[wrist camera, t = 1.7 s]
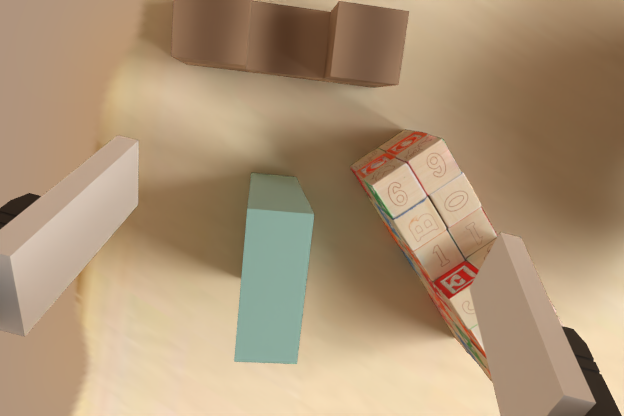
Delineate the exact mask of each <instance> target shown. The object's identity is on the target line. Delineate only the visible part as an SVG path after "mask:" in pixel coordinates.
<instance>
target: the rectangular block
mask: <svg viewBox="0 0 624 416" xmlns="http://www.w3.org/2000/svg"><path fill="white" fill-rule="evenodd" d="M313 222H314V212H313V210H312V208H311V206H310V204H309V202H308V200H307V198H306V196H305V194H304V192H303V190H302V188H301V186H300V184H299V182H298V180H297V178H296V177H291V176H281V175H270V174H260V173H251V180H250V189H249V197H248V206H247V217H246V229H245V241H244V253H243V265H242V276H241V288H240V300H239V312H238V323H237V335H236V347H235V359H234V362H258V363H283V364H297V358H298V350H299V341H300V333H301V324H302V316H303V307H304V299H305V290H306V281H307V273H308V264H309V256H310V247H311V239H312V230H313Z"/></svg>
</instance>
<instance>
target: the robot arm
mask: <svg viewBox="0 0 624 416" xmlns="http://www.w3.org/2000/svg"><path fill="white" fill-rule="evenodd" d="M138 170H139V140H135V139H131V138H127V137H123V136H119V135H117V136H116V137H114V138H113V139H112V140H111V141H109V142H108V143H107V144H106V145H104V146H103V147H102V148H101V149H100V150H98V151H97V152H96V153H95V154H93V155H92V156H91V157H90V158H88V159H87V160H86V161H85V162H83V163H82V164H81V165H80V166H79V167H77V168H76V169H75V170H73V171H72V172H71V173H70V174H69V175H67V176H66V177H65V178H64V179H62V180H61V181H60V182H59V183H57V184H56V185H55V186H54V187H52V188H51V189H50V190H49V191H47V192H46V193H45V194H44V195H42V196H38V195H34V194H30V193H29V194H26V195H24V196H21V197H18V198H16V199H13V200H11V201H9V202H8V203H7V204H5V205H4V206H3V207H1V208H0V331H5V332H9V333H13V334H17V335H21V336H26V335H27V334H28V333H29V331H30V330H31V329H32V328H33V327H34V326H35V324H36V323H37V322H38V321H39V320H40V319H41V318H42V316H43V315H44V314H45V313H46V312H47V311H48V309H49V308H50V307H51V306H52V305H53V304H54V302H55V301H56V300H57V299H58V298H59V297H60V295H61V294H62V293H63V292H64V291H65V290H66V288H67V287H68V286H69V285H70V284H71V283H72V281H73V280H74V279H75V278H76V277H77V276H78V274H79V273H80V272H81V271H82V270H83V269H84V267H85V266H86V265H87V264H88V263H89V262H90V260H91V259H92V258H93V257H94V256H95V255H96V253H97V252H98V251H99V250H100V249H101V248H102V246H103V245H104V244H105V243H106V242H107V241H108V239H109V238H110V237H111V236H112V235H113V234H114V232H115V231H116V230H117V229H118V228H119V227H120V225H121V224H122V223H123V222H124V221H125V220H126V218H127V217H128V216H129V215H130V214H131V213H132V211H133V210H134V209H135V208H136V207H137V206H138ZM469 289H470V293H471V297H472V301H473V305H474V309H475V313H476V317H477V321H478V326H479V330H480V334H481V338H482V342H483V346H484V350H485V354H486V358H487V362H488V366H489V370H490V374H491V378H492V382H493V386H494V390H495V395H496V399H497V403H498V407H499V411H500V415H501V416H622V415H621V413H620V411H619V409H618V407H617V405H616V403H615V401H614V399H613V397H612V395H611V393H610V391H609V389H608V387H607V385H606V383H605V381H604V379H603V377H602V375H601V374H599V372H600V371H599V369H598V367H597V365H596V363H595V362H593V360H594V359H593V357H592V354H591V352H590V350H589V348H588V346H587V344H586V343H585V342H584V341H583V340H582V339H581V337H580V336H579V335H578V334H577V333H576V332H575V331H574V329H571V328H567V327H563V326H561V324H560V322H559V320H558V318H557V315H556V313H555V311H554V309H553V307H552V304H551V302H550V300H549V298H548V296H547V293H546V291H545V289H544V287H543V284H542V282H541V280H540V278H539V276H538V273H537V271H536V269H535V267H534V265H533V262H532V260H531V258H530V256H529V253H528V251H527V249H526V247H525V245H524V242H523V240H522V238H521V237H518V236H514V235H510V234H506V233H502V232H500V233H499V235H498V237H497V239H496V241H495V243H494V244H493V246H492V248H491V250H490V252H489V253H488V255H487V257H486V259H485V261H484V263H483V264H482V266H481V268H480V270H479V272H478V274H477V275H476V277H475V279H474V281H473V283H472V284H471V286H470V288H469Z"/></svg>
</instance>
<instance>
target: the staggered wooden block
mask: <svg viewBox="0 0 624 416" xmlns="http://www.w3.org/2000/svg"><path fill="white" fill-rule="evenodd" d="M408 16H409V11H403V10H396V9H390V8H383V7H376V6H369V5H363V4H356V3H349V2H342V1H339V2H338V3H337V5H336V6H335V7H334V8H333V10H332V11H331V12H327V11H320V10H313V9H306V8H299V7H292V6H285V5H278V4H272V3H265V2H258V1H252V0H174V2H173V24H172V46H171V56H172V57H174V58H176V59H178V60H180V61H182V62H183V63H185V64H189V65H197V66H205V67H213V68H221V69H229V70H237V71H245V72H253V73H261V74H270V75H278V76H286V77H294V78H302V79H310V80H318V81H326V82H334V83H342V84H350V85H358V86H366V87H374V88H375V87H383V86H392V85H398V83H399V76H400V70H401V63H402V56H403V49H404V43H405V36H406V29H407V23H408Z"/></svg>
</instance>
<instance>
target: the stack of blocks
mask: <svg viewBox="0 0 624 416" xmlns="http://www.w3.org/2000/svg"><path fill="white" fill-rule="evenodd" d="M350 168H351V170H352V171H353V173H354V174H355V176H356V177H357V179H358V180H359V182H360V184H361V185H362V187H363V188H364V190H365V192H366V193H367V196H368V198H369V200H370V201H371V203H372V204H373V206H374V208H375V209H376V211H377V212H378V214H379V216H380V217H381V219H382V220H383V222H384V224H385V225H386V227H387V229H388V230H389V232H390V233H391V235H392V237H393V238H394V240H395V241H396V243H397V245H398V246H399V247H400V248H401V250H402V251H403V253H404V254H405V256H406V258H407V259H408V261H409V263H410V264H411V266H412V267H413V269H414V270H415V272H416V273H417V275H418V277H419V278H420V280H421V282H422V283H423V285H424V286H425V288H426V290H427V291H428V293H429V296H430V297H431V299H432V301H433V302H434V304H435V305H436V307H437V309H438V310H439V312H440V313H441V315H442V317H443V319H444V321H445V322H446V324H447V326H448V327H449V329H450V330H451V332H452V334H453V335H454V337H455V338H456V339H457V341H458V342H459V343H460V344H461V345H462V347H463V348H464V349H465V350H466V352H467V353H469V354H470V355H471V357H472V358H473V359H474V360H475V361H476V362H477V363H478V365H479V366H480V367H481V368H482V370H483V371H484V373H485V374H486V375H487V376H488V378H489V379H490V380H491V381H492V378H491V374H490V370H489V366H488V362H487V358H486V354H485V350H484V346H483V342H482V338H481V334H480V330H479V326H478V321H477V317H476V313H475V309H474V305H473V301H472V297H471V293H470V289H469V288H470V286H471V284H472V283H473V281H474V279H475V277H476V275H477V274H478V272H479V270H480V268H481V266H482V264H483V263H484V261H485V259H486V257H487V255H488V253H489V252H490V250H491V248H492V246H493V244H494V243H495V241H496V239H497V237H498V235H497V234H496V232H495V230H494V228H493V226H492V225H491V223H490V221H489V219H488V218H487V216H486V214H485V212H484V210H483V209H482V207H481V203H480V201H479V199H478V197H477V195H476V193H475V192H474V190H473V188H472V186H471V184H470V183H469V181H468V179H467V177H466V176H465V174H464V173H463V172H461V170H460V168H459V166H458V164H457V163H456V161H455V159H454V157H453V156H452V154H451V152H450V150H449V148H448V147H447V145H446V143H445V141H444V140H443V139H442V138H439V137H435V136H431V135H428V134H427V133H423V132H417V131H416V132H415V131H411V130H403V131H402V132H400V133H399V134H397V135H396V136H394V137H393V138H391V139H390V140H388V141H387V142H385V143H384V144H382V145H381V146H379V147H378V148H376V149H374V150H373V151H371V152H370V153H368V154H367V155H365V156H364V157H362V158H361V159H359V160H358V161H356V162H355V163H354V164H352V165H351V166H350ZM548 298H549V297H548ZM549 300H550V299H549ZM550 302H551V301H550ZM551 304H552V303H551ZM552 307H553V309H554V311H555V313H556V309H555V308H554V306H553V304H552ZM557 318H558V320H559V322H560V324H561V326H563V327H565V326H564V325H563V323H562V321H561V320H560V318H559V317H558V316H557ZM492 383H493V382H492Z"/></svg>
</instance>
